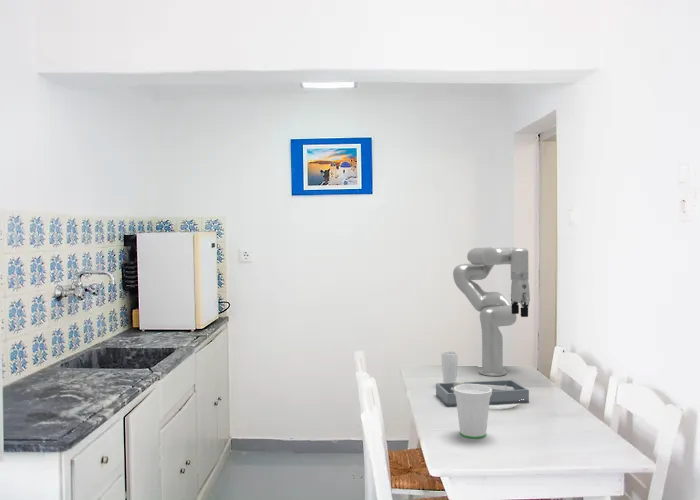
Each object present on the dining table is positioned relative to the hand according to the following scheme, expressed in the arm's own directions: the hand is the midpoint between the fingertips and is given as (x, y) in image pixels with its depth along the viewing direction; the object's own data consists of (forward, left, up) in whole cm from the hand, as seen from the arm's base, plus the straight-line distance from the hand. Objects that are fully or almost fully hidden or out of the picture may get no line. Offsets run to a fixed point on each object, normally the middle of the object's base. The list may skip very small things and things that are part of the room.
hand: (519, 315), depth 258 cm
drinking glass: (0, -32, -31) cm, 44 cm away
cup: (+59, -42, -31) cm, 79 cm away
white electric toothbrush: (+20, -25, -30) cm, 44 cm away
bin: (+20, -25, -30) cm, 44 cm away
